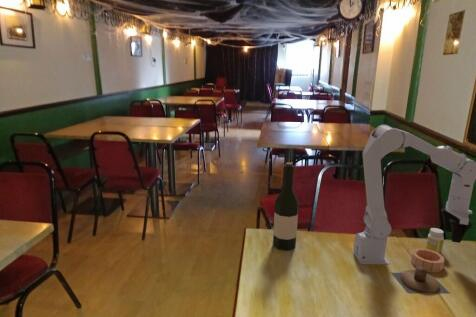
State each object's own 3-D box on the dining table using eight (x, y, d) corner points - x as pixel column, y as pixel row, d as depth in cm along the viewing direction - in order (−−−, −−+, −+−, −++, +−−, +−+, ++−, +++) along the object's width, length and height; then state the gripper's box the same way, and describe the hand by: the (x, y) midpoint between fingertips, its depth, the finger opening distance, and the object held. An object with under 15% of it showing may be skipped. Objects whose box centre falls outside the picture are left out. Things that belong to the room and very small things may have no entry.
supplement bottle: (437, 249, 120) (441, 227, 118) (443, 256, 116) (447, 233, 114) (423, 248, 121) (426, 226, 119) (429, 255, 116) (432, 233, 114)
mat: (407, 294, 95) (407, 292, 95) (391, 273, 105) (391, 272, 105) (449, 294, 95) (450, 293, 95) (429, 273, 105) (429, 272, 105)
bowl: (420, 273, 106) (422, 262, 105) (405, 257, 114) (407, 248, 113) (448, 273, 106) (450, 262, 105) (432, 257, 115) (433, 248, 114)
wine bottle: (270, 239, 125) (274, 160, 118) (292, 239, 126) (297, 160, 119) (275, 251, 117) (279, 166, 110) (299, 250, 118) (304, 166, 111)
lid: (411, 293, 95) (413, 278, 94) (394, 272, 105) (396, 259, 104) (446, 293, 95) (449, 278, 94) (426, 272, 105) (428, 259, 104)
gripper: (484, 206, 98) (474, 249, 101) (466, 190, 111) (458, 228, 115) (456, 203, 99) (448, 245, 103) (441, 187, 113) (435, 225, 116)
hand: (451, 236), depth 109 cm, fingers open, 7 cm apart
